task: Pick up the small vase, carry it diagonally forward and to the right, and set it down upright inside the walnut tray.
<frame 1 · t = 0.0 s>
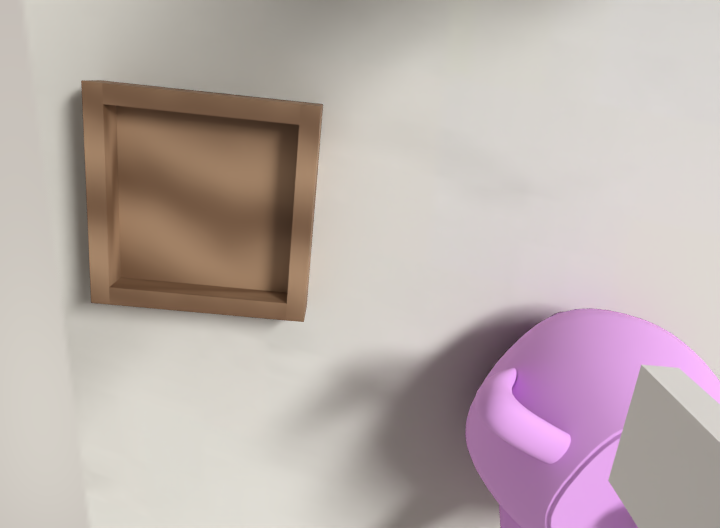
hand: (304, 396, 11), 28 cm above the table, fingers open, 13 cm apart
walnut tray: (209, 201, 38), on the table
teapot: (536, 399, 44), on the table
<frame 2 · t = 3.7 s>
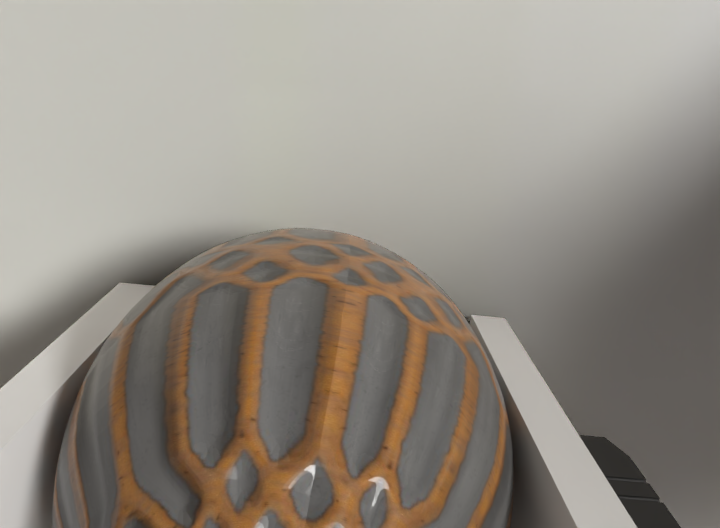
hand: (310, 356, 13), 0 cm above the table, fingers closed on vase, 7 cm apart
vase: (312, 340, 13), on the table, touching gripper
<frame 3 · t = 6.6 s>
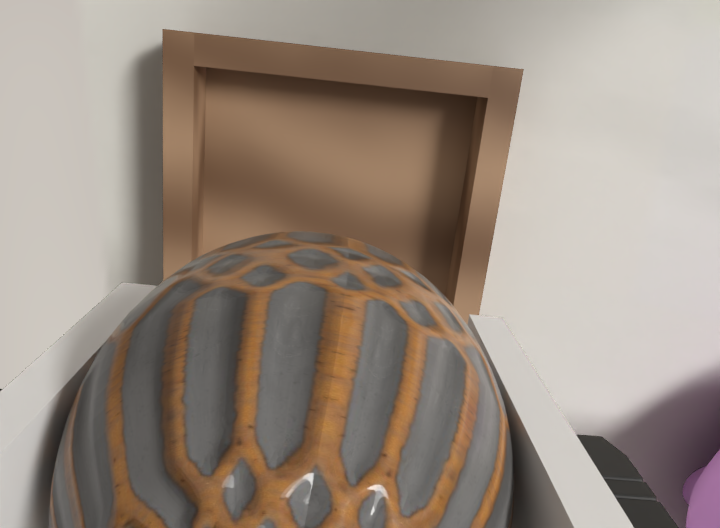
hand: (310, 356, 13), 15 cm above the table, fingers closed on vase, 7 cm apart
walnut tray: (331, 211, 27), on the table
vase: (312, 342, 13), point 14 cm above the table, touching gripper
when the fingers open (2 cm above the table, at t = 9.5 s): vase drops 2 cm, resting on walnut tray.
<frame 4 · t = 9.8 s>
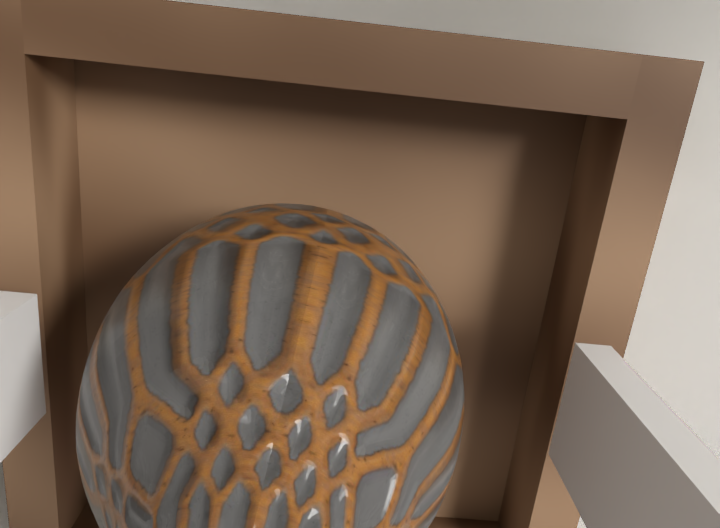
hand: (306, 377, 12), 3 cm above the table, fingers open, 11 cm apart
walnut tray: (316, 312, 15), on the table
vase: (300, 309, 15), resting on walnut tray
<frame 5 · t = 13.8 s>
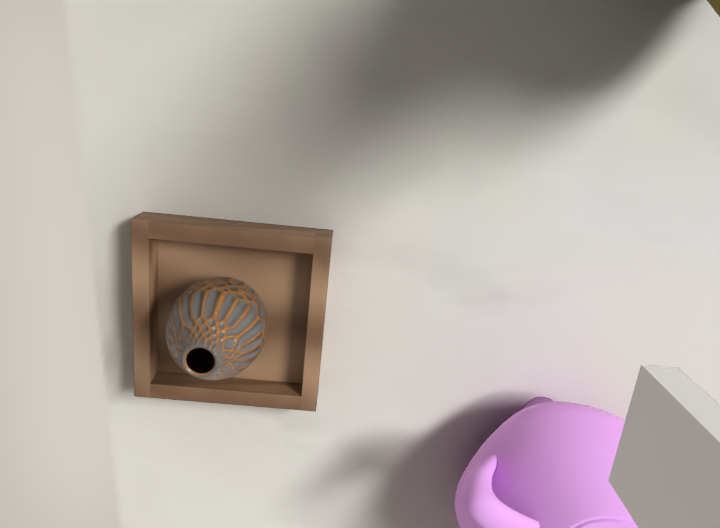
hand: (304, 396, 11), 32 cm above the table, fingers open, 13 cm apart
walnut tray: (235, 307, 45), on the table
teapot: (517, 469, 50), on the table
vase: (229, 306, 44), resting on walnut tray
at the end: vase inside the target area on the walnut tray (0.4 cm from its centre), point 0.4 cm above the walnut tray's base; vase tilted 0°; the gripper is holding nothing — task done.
